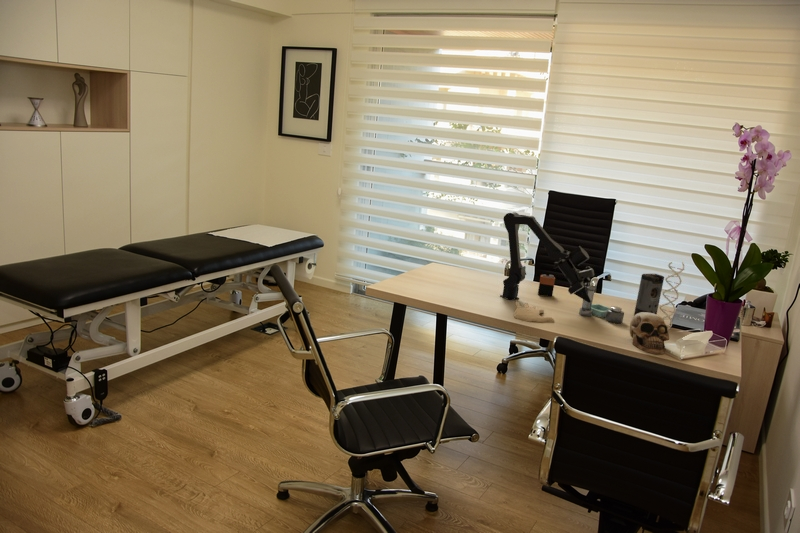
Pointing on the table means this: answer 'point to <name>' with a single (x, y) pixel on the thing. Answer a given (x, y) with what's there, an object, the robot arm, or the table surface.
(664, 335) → the tan skull model
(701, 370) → the table surface
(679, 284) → the dna model
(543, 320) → the hand model
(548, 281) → the battery
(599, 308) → the tray
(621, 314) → the calibration weight
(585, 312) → the grey cylindrical piece
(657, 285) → the electronic device
